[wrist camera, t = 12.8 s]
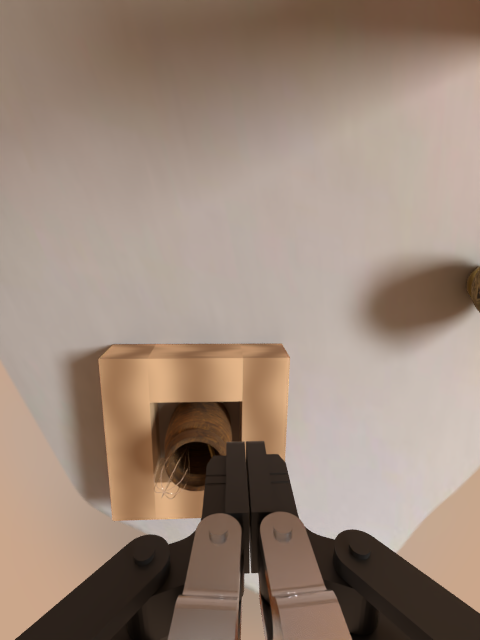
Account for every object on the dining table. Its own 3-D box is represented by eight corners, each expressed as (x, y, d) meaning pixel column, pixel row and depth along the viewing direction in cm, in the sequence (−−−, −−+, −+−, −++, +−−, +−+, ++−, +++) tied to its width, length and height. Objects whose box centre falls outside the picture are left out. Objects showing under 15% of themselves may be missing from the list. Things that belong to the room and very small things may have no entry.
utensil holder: (183, 383, 33) (163, 463, 21) (243, 405, 34) (254, 493, 22) (162, 434, 34) (131, 536, 22) (220, 454, 35) (219, 562, 23)
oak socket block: (281, 343, 33) (289, 357, 29) (275, 485, 37) (282, 515, 33) (113, 344, 32) (98, 359, 28) (124, 490, 36) (112, 520, 32)
